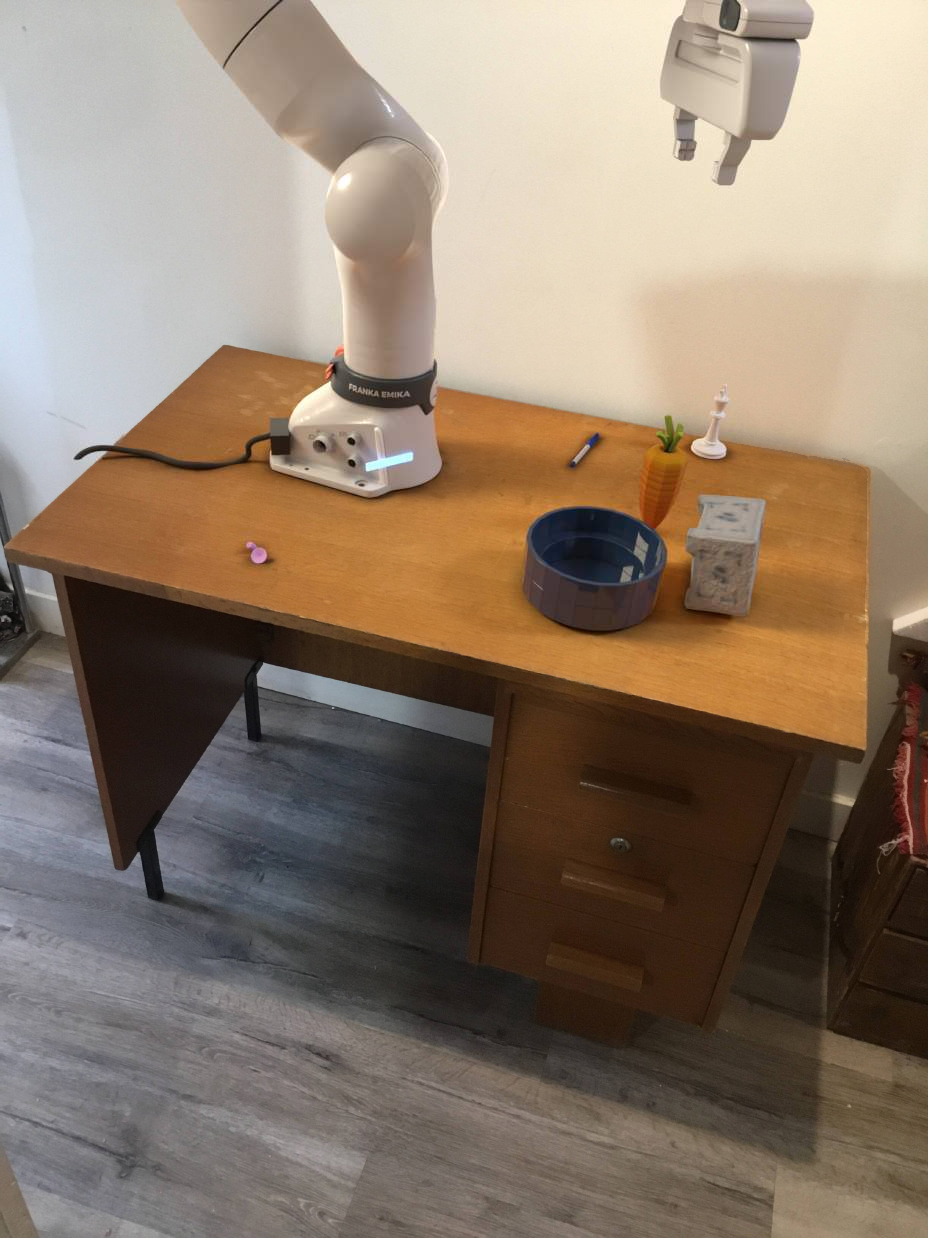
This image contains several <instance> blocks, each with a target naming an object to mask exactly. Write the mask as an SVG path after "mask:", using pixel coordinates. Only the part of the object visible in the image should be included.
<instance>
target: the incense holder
mask: <svg viewBox="0 0 928 1238" xmlns="http://www.w3.org/2000/svg"><path fill="white" fill-rule="evenodd" d="M766 506H767V504H766V499H763V498H760V497H758V498H757V497H756V498H755V497H745V496H734V495H721V494H717V495H716V494H704V493H703V494H702V493H701V494H699V495H698V498H697V507H696V512H697V514H698V515H699V516H700V519H699V522H698V525H697V527H689V529H688V531H687V534H686V538H685V545H684V546H685V547H684V551H685V552H686V553H689V554H690V555H691V567H690V580H689V581H690V583H689V587H688V588H687V590H686V593H685V596H684V607H685V608H686V609H687V610H688V609H690V610H694V611H704V612H710V613H720V614H725V615H730V616H737V617H746V616H748V614H749V612H750V608H751V601H752V595H753V588H754V585H755V580H756V574H757V571H758V564H759V554H760V547H761V539H762V531H763V524H764V520H765V519H764V518H765V513H766Z"/></svg>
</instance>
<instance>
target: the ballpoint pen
mask: <svg viewBox="0 0 928 1238" xmlns="http://www.w3.org/2000/svg"><path fill="white" fill-rule="evenodd" d="M599 437H600V434H599V432H596V433H595V434H594V435H593V436H592V437H591V438H590V439H589V440H588V442H587V443H586V444H585V446H584V447H583V448H582V449H581V450H580V452H579V453H578V454H577V455H576V456H575V458H574V459H573V460H572V461H571V462H570V465H569V467H570V468H573V467H574V466H576V465H577V464H578V463H579V461H581V459H582V458H583V457H584V455H586V453H587V452H588V451H589V449H591V448H592V447H593V445H594V444H595V443H596V442H597V440H598V439H599Z"/></svg>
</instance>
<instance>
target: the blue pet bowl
mask: <svg viewBox="0 0 928 1238" xmlns="http://www.w3.org/2000/svg"><path fill="white" fill-rule="evenodd" d="M667 561H668V548H667V546H666V543H665V540H664V539H663V538H662V537H661V535H660V534H659V533H658V532H657V530H656V529H655V530H654V529H653V528H651V527H650V526H649V525H647V524H646V523H645V522H643V520H642V519H639V518H637V517H635V516H633V515H631V514H628V513H625V512H622V511H620V510H616V509H613V508H608V507H601V506H593V505H573V506H565V507H560V508H556V509H553V510H550V511H547V512H544V513H543V514H542V515H539V516H538V517H537V518H535V519H534V521H532V522H531V524H530V526H528V529H527V533H526V536H525V544H524V552H523V559H522V567H521V576H520V585H521V590H522V593H523V594H524V597H525V598H526V601H528V603H530V604H531V606H533V607H534V608H535V609H536V610H537V611H538V612H540V613H541V614H542V615H544V616H546V617H548V618H549V619H551V620H553V621H555V622H558V623H561V624H563V625H566V626H567V627H572V628H577V629H582V630H588V631H608V632H609V631H614V630H615V631H616V630H620V629H626V628H629V627H632V626H633V625H637V624H639V623H641V622H642V621H643V620H645V619H646V618H647V617H649V616H650V615H651V614H652V612H653V610H654V609H655V607H656V605H657V602H658V597H659V593H660V589H661V586H662V581H663V577H664V574H665V569H666V565H667Z"/></svg>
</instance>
